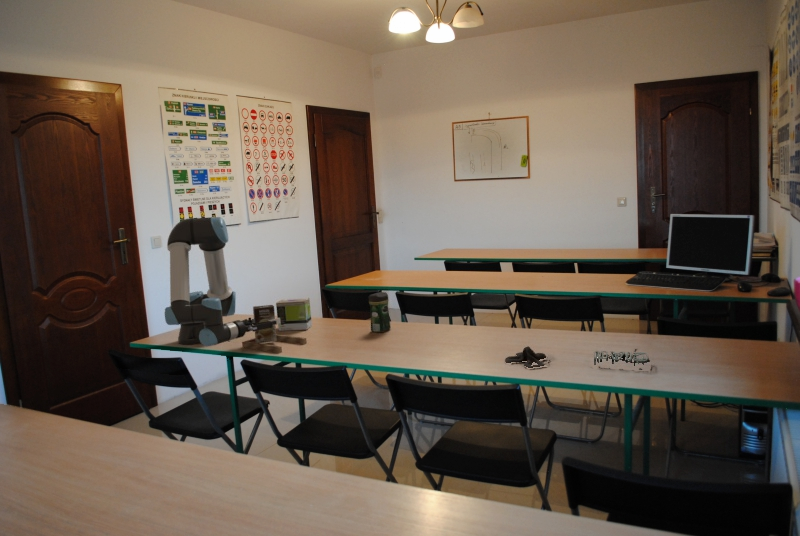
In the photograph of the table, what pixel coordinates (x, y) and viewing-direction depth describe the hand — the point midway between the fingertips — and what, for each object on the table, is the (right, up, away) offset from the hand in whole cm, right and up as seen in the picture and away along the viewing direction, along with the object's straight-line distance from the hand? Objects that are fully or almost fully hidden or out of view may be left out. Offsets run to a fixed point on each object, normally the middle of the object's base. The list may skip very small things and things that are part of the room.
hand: (271, 319), depth 269 cm
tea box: (+6, -7, +27) cm, 29 cm away
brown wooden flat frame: (+3, -11, -5) cm, 13 cm away
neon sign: (+141, -10, -53) cm, 151 cm away
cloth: (+109, -12, -49) cm, 120 cm away
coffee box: (-2, -10, -2) cm, 10 cm away
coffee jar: (+50, -7, +12) cm, 52 cm away
